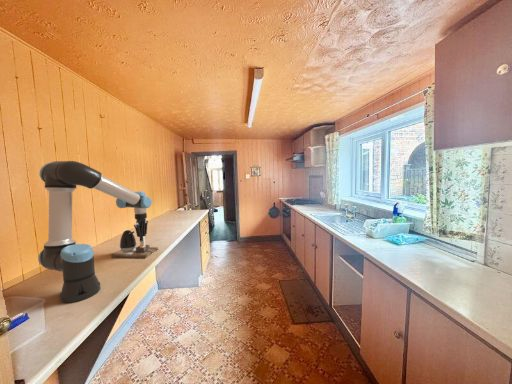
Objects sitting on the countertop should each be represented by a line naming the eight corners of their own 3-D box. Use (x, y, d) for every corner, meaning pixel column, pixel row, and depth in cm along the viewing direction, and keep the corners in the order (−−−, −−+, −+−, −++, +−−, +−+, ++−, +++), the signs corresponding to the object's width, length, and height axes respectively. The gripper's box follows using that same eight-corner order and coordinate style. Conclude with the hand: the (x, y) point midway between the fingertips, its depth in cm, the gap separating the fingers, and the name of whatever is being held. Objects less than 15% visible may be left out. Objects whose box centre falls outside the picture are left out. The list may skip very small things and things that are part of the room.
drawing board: (145, 258, 142) (145, 250, 142) (111, 257, 144) (110, 250, 144) (158, 249, 158) (158, 242, 158) (127, 249, 160) (127, 242, 160)
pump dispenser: (130, 253, 146) (128, 232, 145) (116, 253, 147) (115, 232, 146) (139, 248, 156) (138, 228, 155) (127, 247, 157) (125, 228, 156)
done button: (143, 250, 148) (143, 246, 148) (138, 250, 149) (138, 246, 148) (147, 248, 152) (146, 244, 152) (142, 248, 153) (141, 244, 152)
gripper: (139, 214, 141) (142, 248, 144) (150, 211, 154) (152, 242, 156) (129, 214, 142) (131, 248, 144) (141, 211, 155) (143, 242, 157)
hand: (142, 245), depth 150 cm, fingers closed
